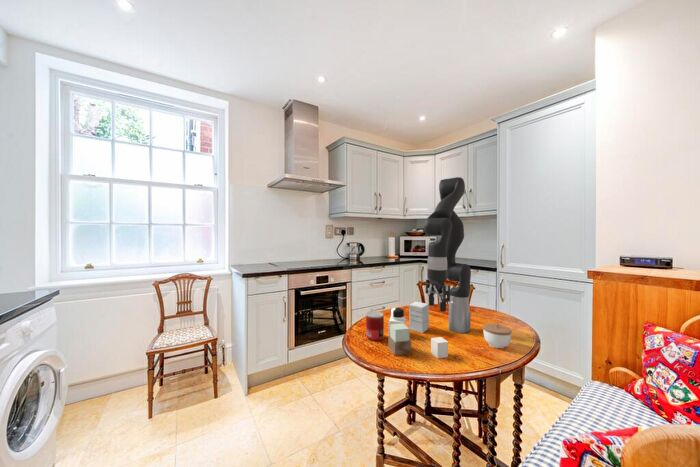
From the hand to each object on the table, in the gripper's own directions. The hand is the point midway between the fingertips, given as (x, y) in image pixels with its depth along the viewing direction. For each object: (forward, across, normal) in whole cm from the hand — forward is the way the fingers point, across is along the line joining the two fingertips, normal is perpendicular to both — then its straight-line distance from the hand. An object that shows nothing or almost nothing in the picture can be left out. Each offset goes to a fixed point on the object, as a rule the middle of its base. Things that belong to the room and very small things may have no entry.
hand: (436, 308), depth 102 cm
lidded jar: (+19, +2, -30) cm, 35 cm away
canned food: (+19, +20, +20) cm, 33 cm away
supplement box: (+19, +25, -5) cm, 32 cm away
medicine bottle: (+19, +22, +8) cm, 30 cm away
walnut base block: (+19, +6, +13) cm, 24 cm away
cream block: (+18, -1, -1) cm, 19 cm away
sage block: (+14, +6, +13) cm, 20 cm away
